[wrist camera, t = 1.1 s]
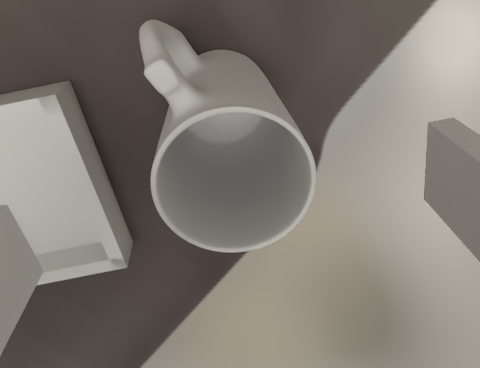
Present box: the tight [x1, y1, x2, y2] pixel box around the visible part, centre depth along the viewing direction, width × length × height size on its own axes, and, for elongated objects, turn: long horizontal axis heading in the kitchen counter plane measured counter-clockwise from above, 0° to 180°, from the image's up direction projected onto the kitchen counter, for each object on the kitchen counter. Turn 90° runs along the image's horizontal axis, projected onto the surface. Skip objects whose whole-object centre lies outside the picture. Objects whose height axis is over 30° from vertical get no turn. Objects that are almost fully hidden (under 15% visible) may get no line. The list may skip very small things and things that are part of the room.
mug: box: [139, 20, 316, 252], centre depth 21 cm, size 10×7×12 cm, turn 32°
